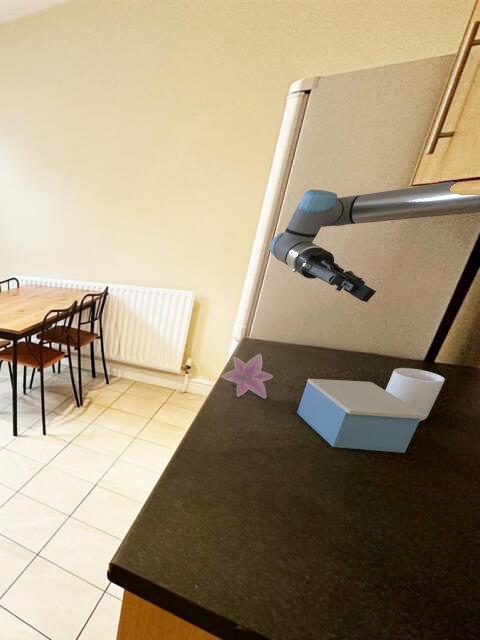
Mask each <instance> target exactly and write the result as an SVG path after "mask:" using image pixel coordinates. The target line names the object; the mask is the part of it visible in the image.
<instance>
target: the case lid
mask: <svg viewBox="0 0 480 640" xmlns="http://www.w3.org/2000/svg"><path fill="white" fill-rule="evenodd" d="M307 382H308V383H310V384H311V385H312V386H313V387H315V388H316V389H317V390H319V391H320V392H321V393H323V394H324V395H325V396H326V397H328V398H329V399H330V400H332V401H333V402H334V403H335V404H337V405H338V406H339V407H341V408H342V409H343V410H344V411H346V412H347V413H348V414H357V415H371V416H386V417H401V418H416V419H425V418H426V415H425V414H423V413H421V412H420V411H418V410H417V409H415V408H413V407H412V406H410V405H408V404H407V403H405V402H403V401H402V400H400V399H399V398H397V397H395V396H394V395H392V394H390V393H389V392H387V391H385V390H386V389H384V388H382V387H380V386H379V385H377V384H376V383H374V382H372V381H362V380H361V381H360V380H343V379H342V380H341V379H322V378H307V380H306V383H307ZM426 419H427V418H426ZM426 419H425V420H426Z"/></svg>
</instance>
